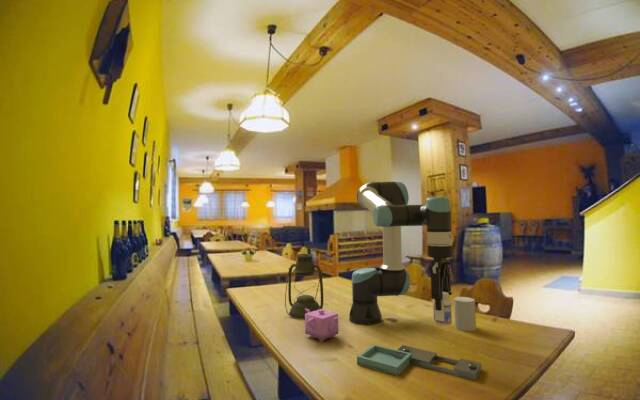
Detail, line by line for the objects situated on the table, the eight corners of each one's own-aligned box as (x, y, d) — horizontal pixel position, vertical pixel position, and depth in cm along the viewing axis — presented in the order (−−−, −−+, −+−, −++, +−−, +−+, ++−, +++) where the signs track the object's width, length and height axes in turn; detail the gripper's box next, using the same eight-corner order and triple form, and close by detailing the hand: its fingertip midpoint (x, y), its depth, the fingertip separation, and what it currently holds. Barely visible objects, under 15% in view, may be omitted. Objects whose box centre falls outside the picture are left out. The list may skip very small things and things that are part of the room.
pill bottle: (431, 321, 104) (429, 291, 105) (446, 320, 105) (445, 290, 105) (438, 326, 99) (437, 295, 100) (455, 325, 100) (453, 294, 100)
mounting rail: (393, 359, 107) (392, 351, 107) (402, 350, 114) (402, 343, 114) (476, 380, 92) (475, 371, 92) (481, 369, 98) (481, 361, 99)
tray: (357, 364, 104) (356, 356, 104) (374, 351, 114) (373, 344, 114) (397, 376, 96) (397, 367, 96) (412, 361, 105) (411, 353, 106)
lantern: (331, 311, 164) (329, 252, 166) (315, 321, 149) (313, 256, 151) (297, 307, 174) (296, 251, 176) (278, 316, 158) (277, 255, 160)
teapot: (341, 331, 135) (340, 305, 136) (340, 343, 122) (339, 314, 122) (305, 331, 136) (304, 305, 137) (301, 343, 123) (300, 314, 123)
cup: (478, 331, 131) (477, 301, 131) (457, 330, 132) (456, 301, 133) (473, 325, 139) (471, 297, 139) (453, 324, 140) (452, 296, 141)
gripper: (443, 248, 94) (446, 328, 93) (459, 242, 108) (462, 312, 107) (418, 247, 98) (421, 323, 97) (436, 242, 113) (439, 308, 112)
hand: (442, 317), depth 102 cm, fingers closed on pill bottle, 5 cm apart
